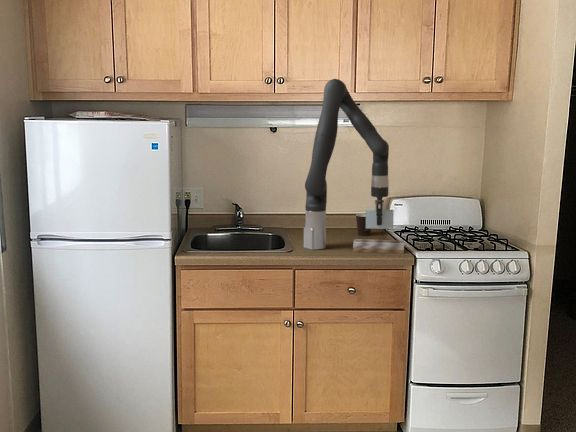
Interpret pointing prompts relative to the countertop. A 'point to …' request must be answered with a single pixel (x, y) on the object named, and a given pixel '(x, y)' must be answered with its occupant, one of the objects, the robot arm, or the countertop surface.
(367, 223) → the blue-gray rectangular block
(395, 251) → the track base
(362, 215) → the coffee mug
